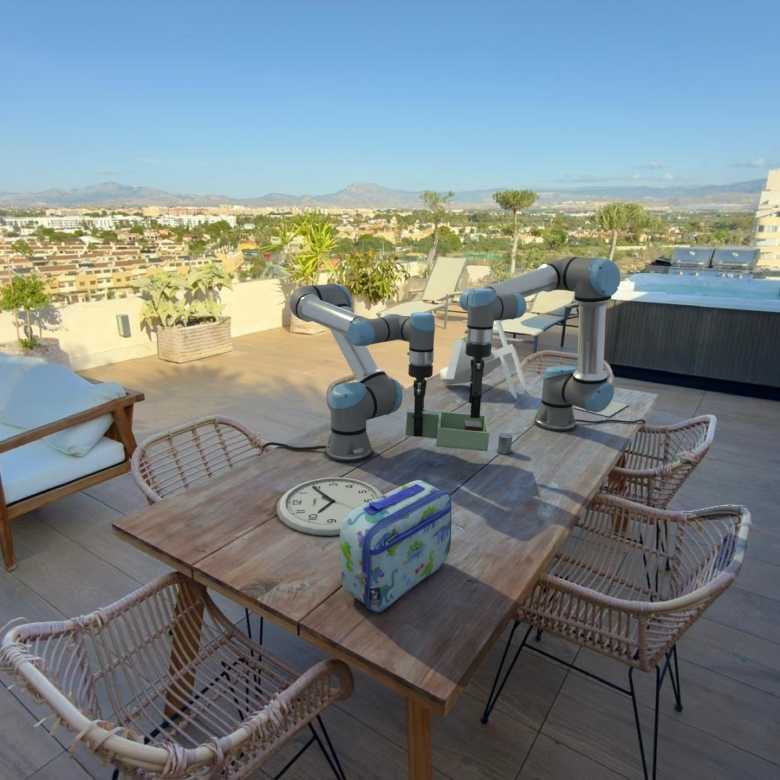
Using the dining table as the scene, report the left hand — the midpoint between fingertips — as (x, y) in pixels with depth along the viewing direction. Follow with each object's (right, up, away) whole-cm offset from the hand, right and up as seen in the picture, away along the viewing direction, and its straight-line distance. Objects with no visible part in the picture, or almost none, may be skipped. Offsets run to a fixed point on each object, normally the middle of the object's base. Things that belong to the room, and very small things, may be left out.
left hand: (418, 433), depth 168 cm
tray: (+9, -1, -1) cm, 9 cm away
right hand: (+17, +8, -8) cm, 20 cm away
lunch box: (-7, -27, -56) cm, 63 cm away
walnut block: (+16, -2, -5) cm, 17 cm away
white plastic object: (+33, +13, +75) cm, 83 cm away
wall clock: (-25, -17, -25) cm, 40 cm away
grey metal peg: (+30, -7, +11) cm, 33 cm away
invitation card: (+82, +7, +58) cm, 101 cm away
